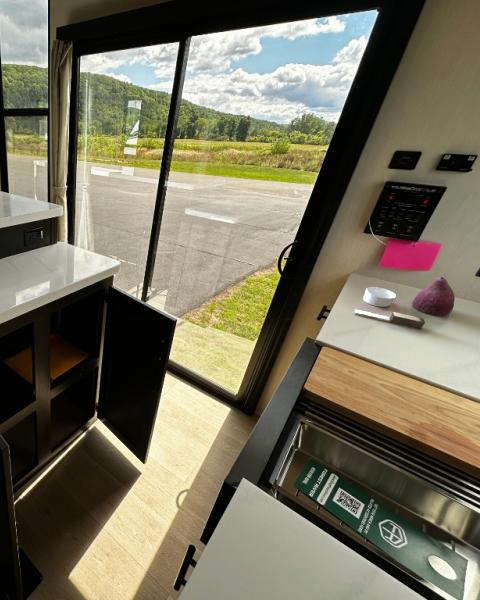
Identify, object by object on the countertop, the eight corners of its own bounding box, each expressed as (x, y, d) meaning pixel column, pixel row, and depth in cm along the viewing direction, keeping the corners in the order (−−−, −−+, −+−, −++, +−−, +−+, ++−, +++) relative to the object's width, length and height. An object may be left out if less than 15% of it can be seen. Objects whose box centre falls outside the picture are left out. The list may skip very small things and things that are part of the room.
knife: (418, 325, 110) (423, 318, 108) (420, 329, 108) (425, 322, 106) (354, 310, 118) (357, 304, 117) (354, 314, 116) (358, 307, 115)
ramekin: (368, 307, 120) (373, 297, 118) (356, 295, 127) (361, 285, 125) (396, 309, 118) (401, 299, 116) (382, 297, 126) (387, 287, 123)
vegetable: (418, 321, 117) (431, 289, 108) (403, 303, 124) (414, 272, 116) (457, 319, 113) (473, 285, 104) (439, 301, 121) (453, 268, 112)
